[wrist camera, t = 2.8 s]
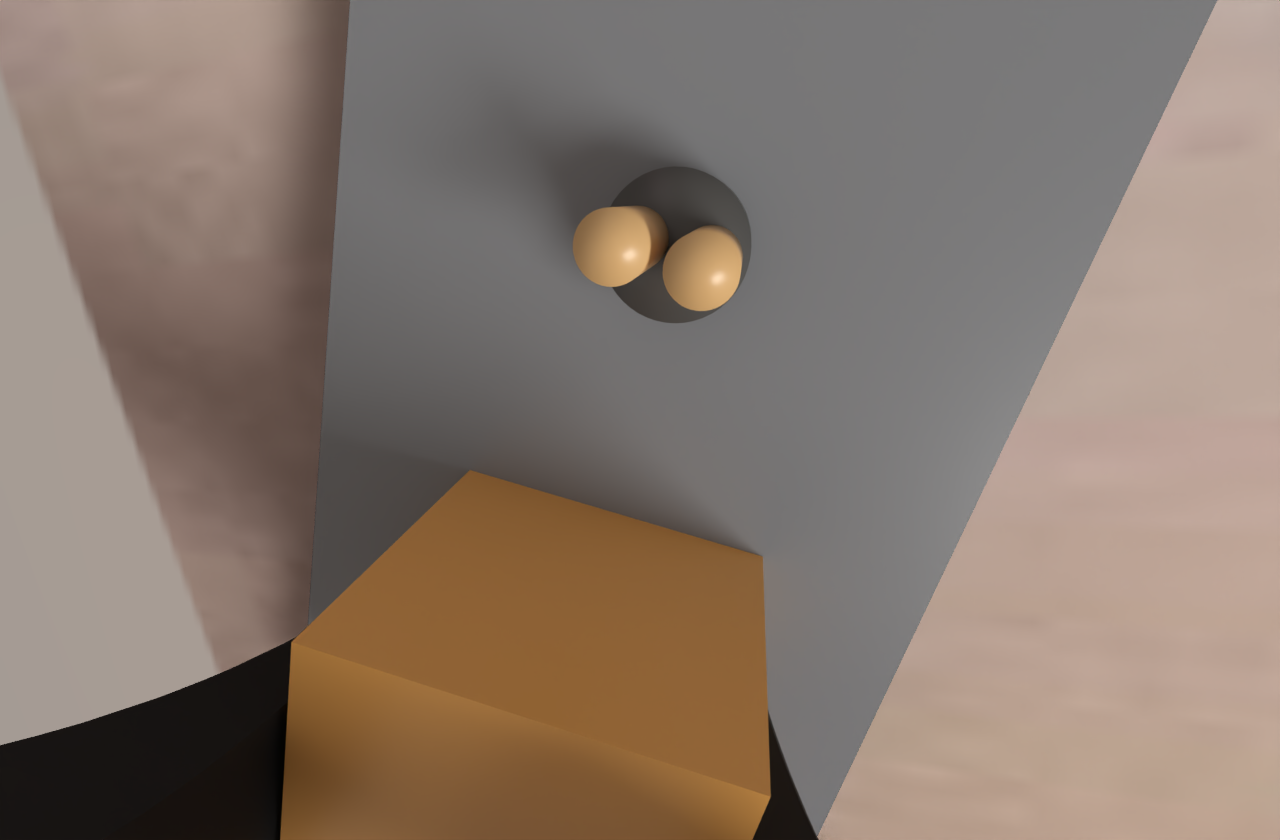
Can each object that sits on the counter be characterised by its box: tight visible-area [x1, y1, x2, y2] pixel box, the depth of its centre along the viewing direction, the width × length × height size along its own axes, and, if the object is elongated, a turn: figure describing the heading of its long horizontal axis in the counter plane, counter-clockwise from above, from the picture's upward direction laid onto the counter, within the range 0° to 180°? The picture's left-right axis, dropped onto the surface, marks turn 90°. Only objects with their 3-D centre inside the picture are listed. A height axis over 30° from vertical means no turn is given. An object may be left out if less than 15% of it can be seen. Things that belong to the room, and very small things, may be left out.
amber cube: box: [280, 470, 771, 840], centre depth 11 cm, size 6×6×5 cm
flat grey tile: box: [308, 0, 1217, 836], centre depth 11 cm, size 18×12×5 cm, turn 166°
